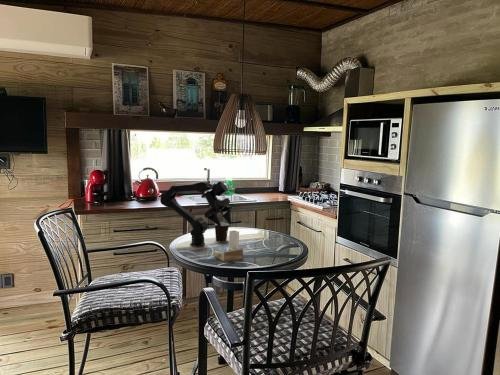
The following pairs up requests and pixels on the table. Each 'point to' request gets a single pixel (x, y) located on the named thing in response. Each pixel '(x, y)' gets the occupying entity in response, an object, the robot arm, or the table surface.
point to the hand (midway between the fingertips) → (225, 224)
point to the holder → (229, 255)
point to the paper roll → (233, 239)
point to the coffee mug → (221, 232)
